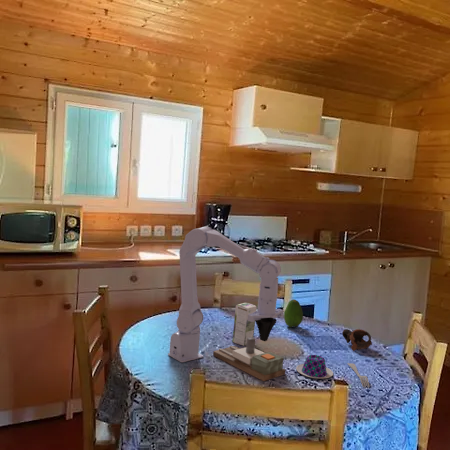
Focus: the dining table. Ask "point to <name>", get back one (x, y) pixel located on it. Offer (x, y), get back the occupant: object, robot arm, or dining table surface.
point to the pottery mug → (357, 338)
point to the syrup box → (243, 323)
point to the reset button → (268, 356)
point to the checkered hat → (314, 367)
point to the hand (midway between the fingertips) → (263, 340)
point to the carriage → (247, 351)
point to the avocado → (293, 314)
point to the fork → (359, 375)
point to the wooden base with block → (254, 364)
